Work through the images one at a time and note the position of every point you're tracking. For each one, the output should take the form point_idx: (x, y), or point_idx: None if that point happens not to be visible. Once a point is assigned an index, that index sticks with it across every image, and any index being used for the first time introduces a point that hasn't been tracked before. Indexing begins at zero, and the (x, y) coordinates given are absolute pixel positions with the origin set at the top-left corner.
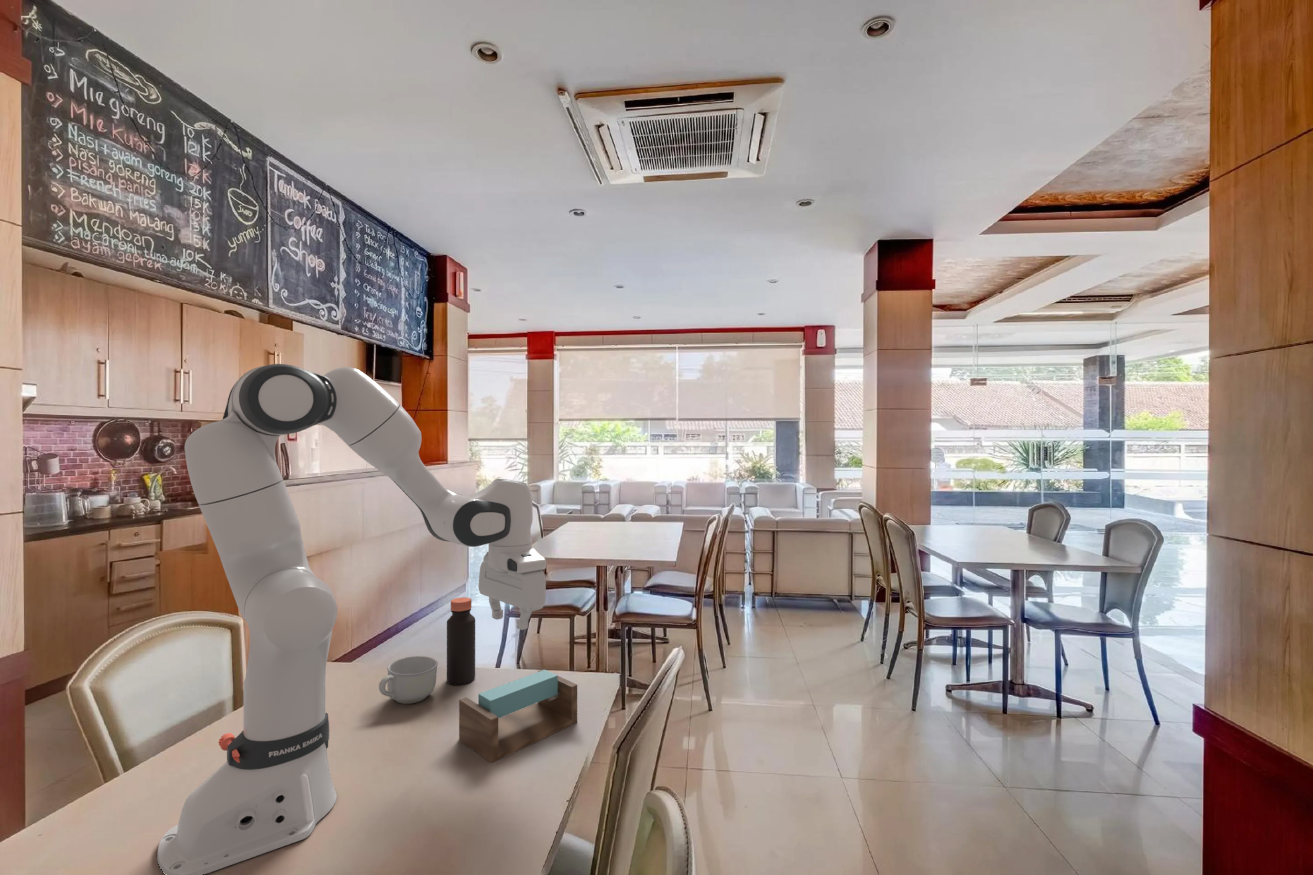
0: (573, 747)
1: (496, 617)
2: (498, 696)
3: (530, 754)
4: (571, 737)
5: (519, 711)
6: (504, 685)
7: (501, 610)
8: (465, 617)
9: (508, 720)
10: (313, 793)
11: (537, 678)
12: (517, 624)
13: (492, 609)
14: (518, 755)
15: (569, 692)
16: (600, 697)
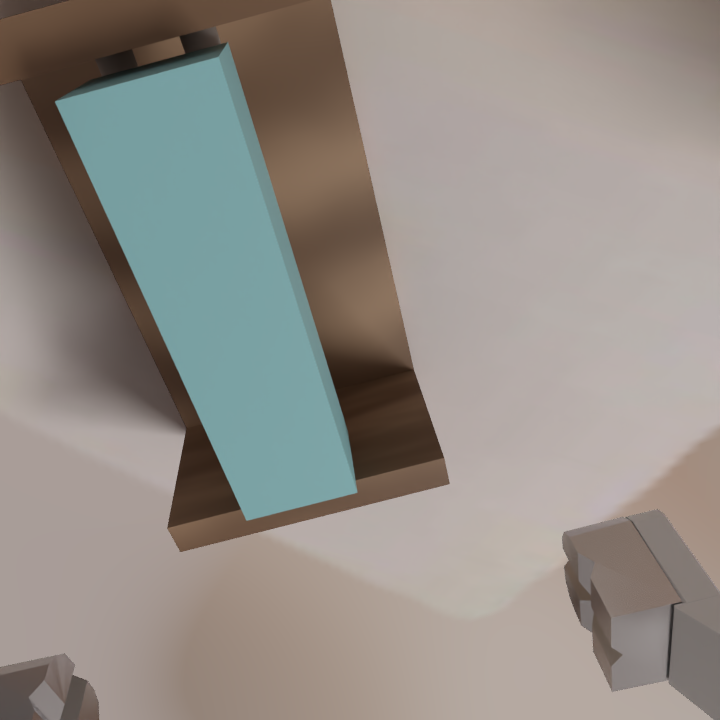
0: (11, 369)
1: (575, 552)
2: (107, 171)
3: (18, 211)
4: (93, 387)
5: (380, 281)
6: (263, 253)
7: (608, 675)
8: None
9: (325, 213)
10: None
11: (262, 433)
12: (16, 702)
13: (716, 607)
14: (29, 162)
15: (187, 500)
16: (341, 552)
